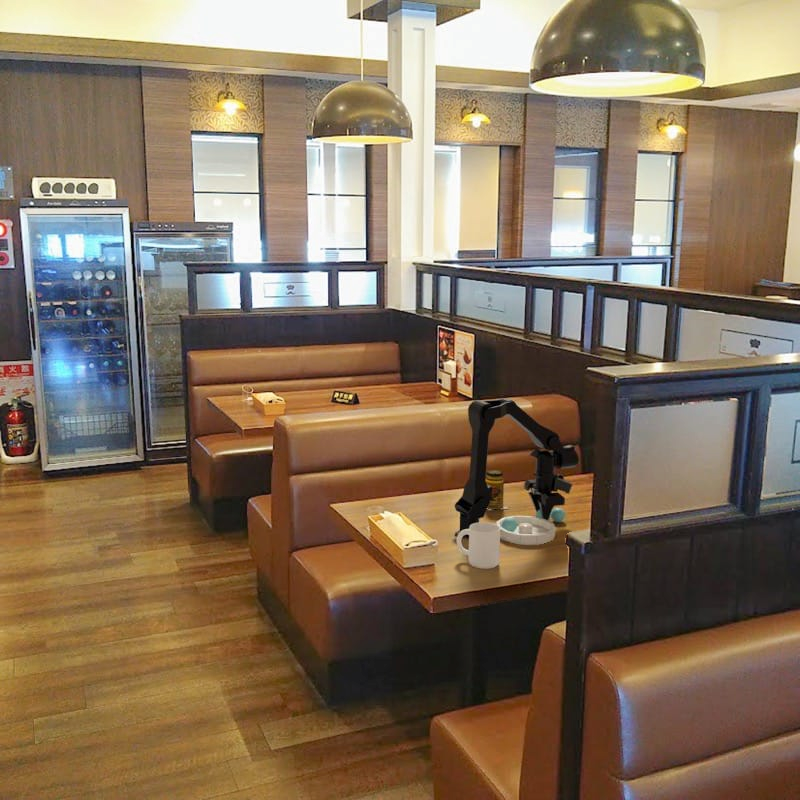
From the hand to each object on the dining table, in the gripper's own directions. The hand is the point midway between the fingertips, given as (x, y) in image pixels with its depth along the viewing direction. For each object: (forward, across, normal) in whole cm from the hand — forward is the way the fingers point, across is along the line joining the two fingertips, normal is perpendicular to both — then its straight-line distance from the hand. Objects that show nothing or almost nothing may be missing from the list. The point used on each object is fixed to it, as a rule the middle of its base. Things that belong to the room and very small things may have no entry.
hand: (542, 518), depth 261 cm
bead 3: (-1, 0, -5) cm, 5 cm away
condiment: (+2, +18, +10) cm, 21 cm away
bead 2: (-1, 0, 0) cm, 1 cm away
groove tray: (+1, -9, +9) cm, 13 cm away
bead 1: (-2, -8, +14) cm, 16 cm away
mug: (+2, -27, +30) cm, 40 cm away
